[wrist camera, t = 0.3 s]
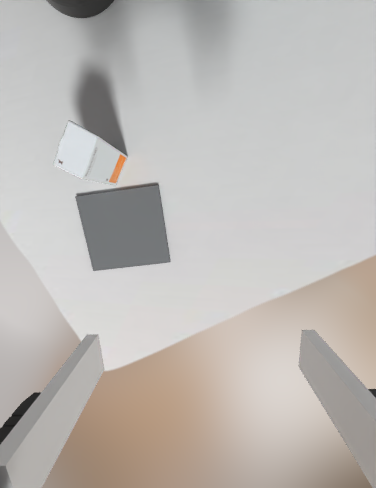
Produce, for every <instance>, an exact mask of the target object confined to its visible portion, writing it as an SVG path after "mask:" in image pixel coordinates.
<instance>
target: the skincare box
mask: <svg viewBox="0 0 376 488" xmlns="http://www.w3.org/2000/svg"><path fill="white" fill-rule="evenodd" d="M127 158H128V156H126V155H125V154H123V153H122V152H120V151H119V150H118V149H116V148H115V147H113V146H112V145H110V144H109V143H107V142H106V141H105V140H103V139H102V138H100V137H99V136H97V135H95V134H94V133H92V132H90V131H88V130H87V129H85V128H83V127H81V126H79V125H78V124H76V123H74V122H72V121H70V120H69V121H68V122H67V125H66V128H65V131H64V134H63V136H62V138H61V140H60V143H59V147H58V151H57V154H56V157H55V160H54V163H53V165H54V166H56V167H58V168H60V169H62V170H64V171H66V172H68V173H70V174H72V175H74V176H76V177H78V178H80V179H83V180H88V181H93V182H98V183H103V184H108V185H113V186H116V183H117V181H118V178H119V176H120V174H121V171H122V169H123V167H124V164H125V162H126V160H127Z"/></svg>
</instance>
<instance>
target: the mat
mask: <svg viewBox="0 0 376 488" xmlns="http://www.w3.org/2000/svg"><path fill="white" fill-rule="evenodd" d="M76 201H77V205H78V210H79V214H80V218H81V222H82V226H83V230H84V234H85V238H86V243H87V247H88V251H89V255H90V259H91V263H92V267H93V271H97V270H106V269H115V268H124V267H132V266H141V265H150V264H159V263H168V262H170V255H169V249H168V242H167V236H166V230H165V223H164V217H163V210H162V204H161V197H160V191H159V185H155V186H148V187H141V188H133V189H126V190H119V191H112V192H104V193H97V194H90V195H83V196H76Z"/></svg>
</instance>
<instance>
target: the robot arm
mask: <svg viewBox="0 0 376 488" xmlns="http://www.w3.org/2000/svg"><path fill="white" fill-rule="evenodd" d="M47 1H48V2H49V3H50V4H51V5H52V6H53V7H54V8H55V9H57V10H58V11H60V12H61V13H63V14H66V15H68V16H71V17H76V18H87V17H91V16H94V15H97V14H99V13H101V12H102V11H104V10H105V9H106V8H107V7H108V6H109V5H110V4H111V3H112V2H113V1H114V0H47ZM299 368H300V370H301V371H302V373H303V374H304V376H305V378H306V379H307V381H308V383H309V384H310V386H311V388H312V389H313V391H314V393H315V394H316V396H317V397H318V399H319V401H320V402H321V404H322V406H323V407H324V409H325V410H326V412H327V414H328V415H329V417H330V419H331V420H332V422H333V424H334V425H335V427H336V428H337V430H338V432H339V433H340V435H341V437H342V438H343V440H344V441H345V443H346V445H347V446H348V448H349V450H350V451H351V453H352V455H353V456H354V458H355V460H356V461H357V463H358V464H359V466H360V467H361V469H362V471H363V473H364V474H365V476H366V477H367V479H368V481H369V482H370V484H371V486H372V487H373V488H376V389H367V388H366V387H365V386H364V384H363V383H362V382H361V381H360V380H359V379H358V378H357V377H356V376H355V374H354V373H353V372H352V371H351V370H350V369H349V368H348V367H347V366H346V364H345V363H344V362H343V361H342V360H341V359H340V358H339V357H338V356H337V354H336V353H335V352H334V351H333V350H332V349H331V348H330V347H329V346H328V344H327V343H326V342H325V341H324V340H323V339H322V338H321V337H320V336H319V334H318V333H317V332H316V331H315V330H302V335H301V346H300V358H299ZM103 371H104V364H103V359H102V353H101V347H100V341H99V336H98V334H97V335H86V337H85V338H84V339H83V340H82V342H81V343H80V344H79V346H78V347H77V348H76V350H75V351H74V352H73V353H72V354H71V356H70V357H69V358H68V360H67V361H66V362H65V363H64V365H63V366H62V367H61V368H60V370H59V371H58V372H57V374H56V375H55V376H54V377H53V378H52V380H51V381H50V382H49V384H48V385H47V386H46V388H45V389H44V390H43V391H42V392H41V393H33V394H32V395H31V396H30V397H28V398H27V399H26V400H25V401H23V402H22V403H21V404H20V406H19V407H18V408H17V409H16V410H15V412H14V413H13V414H12V416H11V417H9V419H8V420H7V421H6V422H5V424H4V425H3V427H2V428H0V488H42V486H43V484H44V482H45V481H46V479H47V476H48V475H49V473H50V471H51V469H52V467H53V465H54V463H55V461H56V460H57V458H58V456H59V454H60V452H61V450H62V448H63V446H64V444H65V443H66V441H67V439H68V437H69V435H70V433H71V431H72V429H73V428H74V426H75V424H76V422H77V420H78V418H79V416H80V414H81V412H82V411H83V408H84V407H85V405H86V403H87V401H88V399H89V397H90V395H91V393H92V392H93V390H94V388H95V386H96V384H97V382H98V380H99V378H100V376H101V375H102V373H103Z"/></svg>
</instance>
